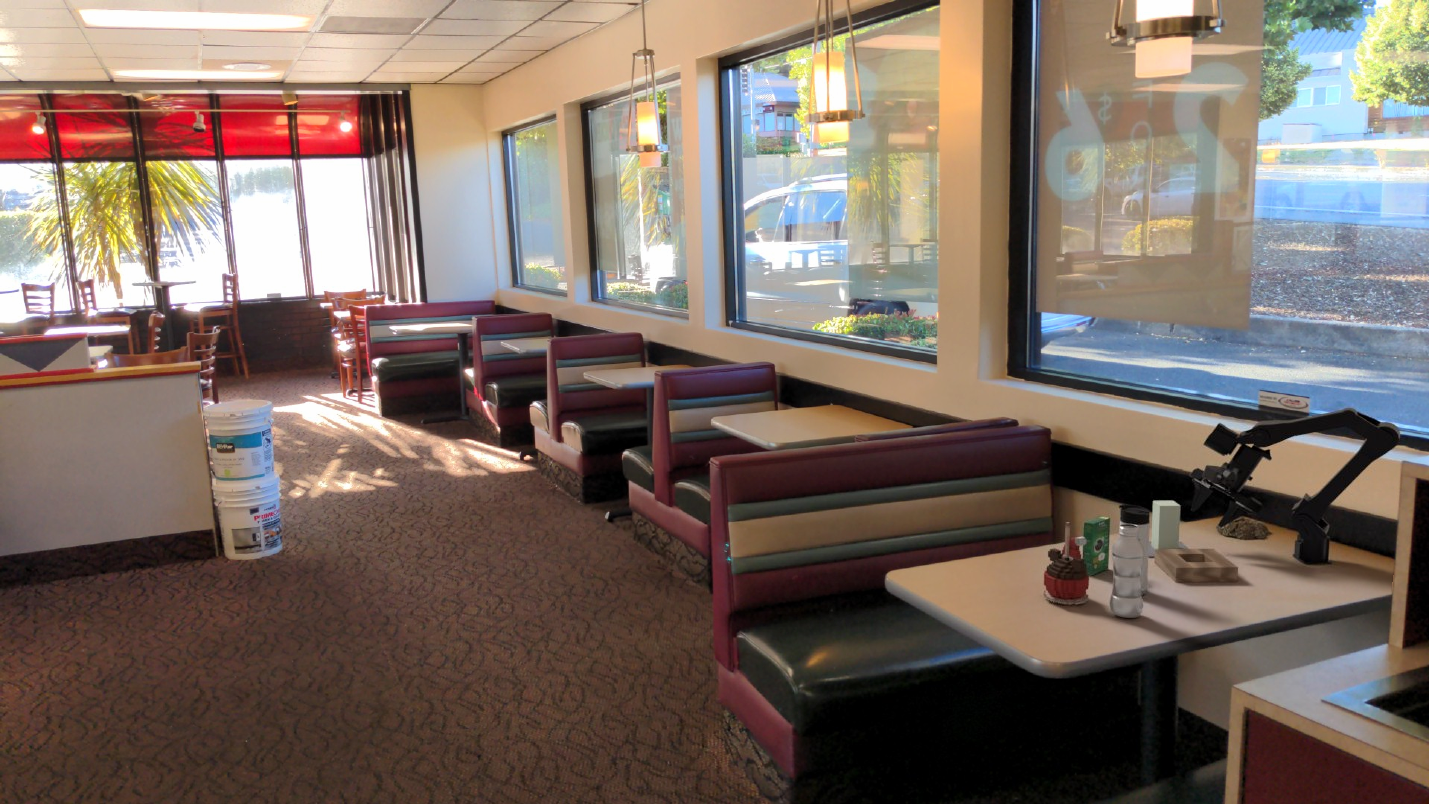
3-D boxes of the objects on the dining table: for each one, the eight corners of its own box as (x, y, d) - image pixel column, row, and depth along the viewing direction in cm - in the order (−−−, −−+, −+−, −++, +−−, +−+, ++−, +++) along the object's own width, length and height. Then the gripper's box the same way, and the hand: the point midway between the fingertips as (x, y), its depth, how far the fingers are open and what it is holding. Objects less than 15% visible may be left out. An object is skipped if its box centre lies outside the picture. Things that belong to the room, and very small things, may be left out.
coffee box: (1098, 566, 253) (1100, 514, 251) (1109, 569, 251) (1111, 516, 249) (1080, 573, 248) (1082, 521, 246) (1091, 576, 246) (1093, 523, 244)
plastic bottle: (1145, 622, 218) (1149, 531, 214) (1111, 620, 219) (1114, 530, 216) (1139, 611, 224) (1143, 522, 221) (1106, 609, 225) (1109, 521, 222)
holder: (1212, 562, 254) (1213, 548, 253) (1237, 581, 240) (1238, 567, 239) (1154, 562, 255) (1154, 549, 254) (1175, 582, 241) (1176, 567, 240)
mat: (1179, 542, 269) (1179, 541, 269) (1198, 557, 258) (1198, 555, 258) (1132, 543, 270) (1132, 541, 270) (1148, 557, 258) (1148, 556, 258)
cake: (1033, 595, 235) (1034, 519, 232) (1065, 589, 239) (1067, 514, 236) (1066, 611, 225) (1068, 531, 222) (1099, 603, 229) (1101, 525, 226)
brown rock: (1220, 524, 285) (1221, 507, 284) (1270, 531, 278) (1271, 513, 277) (1211, 536, 275) (1212, 518, 274) (1263, 543, 268) (1264, 525, 267)
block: (1171, 545, 266) (1173, 500, 264) (1178, 551, 261) (1180, 505, 259) (1151, 545, 267) (1153, 500, 265) (1158, 551, 262) (1159, 505, 260)
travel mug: (1123, 584, 240) (1126, 501, 237) (1151, 591, 236) (1154, 506, 232) (1111, 591, 236) (1114, 507, 233) (1139, 598, 231) (1143, 512, 228)
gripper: (1195, 440, 263) (1160, 491, 265) (1252, 469, 246) (1215, 524, 248) (1220, 456, 268) (1186, 506, 270) (1278, 486, 251) (1241, 539, 253)
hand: (1205, 518), depth 260 cm, fingers open, 9 cm apart
